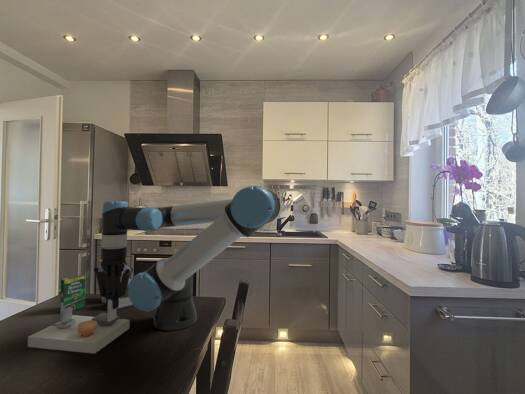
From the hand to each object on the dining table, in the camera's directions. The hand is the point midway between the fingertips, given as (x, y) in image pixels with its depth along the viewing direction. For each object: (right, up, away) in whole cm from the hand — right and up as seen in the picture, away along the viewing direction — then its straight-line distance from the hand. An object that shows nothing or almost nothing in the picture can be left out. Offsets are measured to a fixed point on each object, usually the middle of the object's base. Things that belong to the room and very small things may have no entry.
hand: (111, 318), depth 90 cm
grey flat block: (-2, 0, 0) cm, 2 cm away
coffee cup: (-17, -6, +29) cm, 35 cm away
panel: (-8, -5, -3) cm, 10 cm away
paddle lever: (-14, -1, -2) cm, 14 cm away
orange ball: (-3, -3, -8) cm, 9 cm away
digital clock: (-6, -6, +26) cm, 27 cm away
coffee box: (-26, -5, +18) cm, 32 cm away
